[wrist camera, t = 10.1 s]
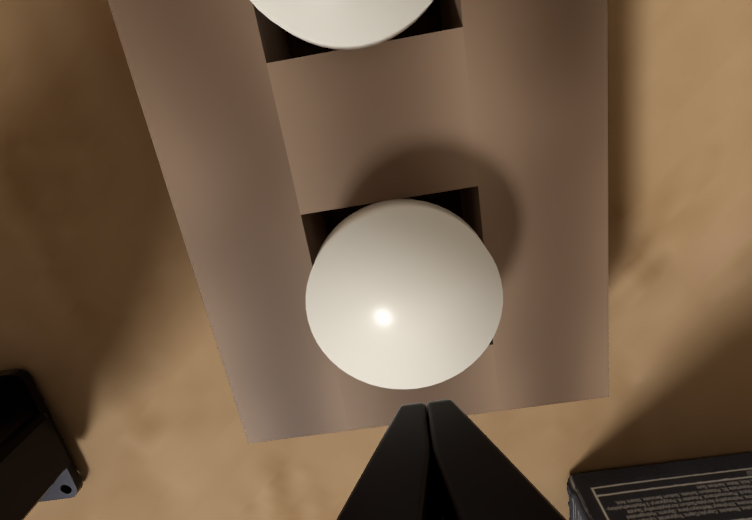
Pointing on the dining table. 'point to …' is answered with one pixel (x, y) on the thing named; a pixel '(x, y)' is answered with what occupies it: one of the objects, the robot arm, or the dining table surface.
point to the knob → (403, 295)
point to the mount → (384, 187)
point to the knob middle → (343, 20)
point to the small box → (666, 491)
